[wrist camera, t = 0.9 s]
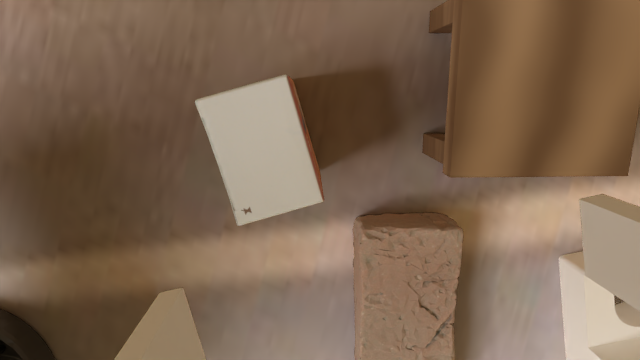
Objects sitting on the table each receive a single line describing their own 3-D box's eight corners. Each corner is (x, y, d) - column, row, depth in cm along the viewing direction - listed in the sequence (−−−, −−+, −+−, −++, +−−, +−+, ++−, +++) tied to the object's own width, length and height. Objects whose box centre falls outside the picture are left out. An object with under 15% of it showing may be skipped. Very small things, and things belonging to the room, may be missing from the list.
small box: (320, 170, 35) (327, 205, 24) (257, 188, 35) (237, 230, 25) (293, 76, 33) (288, 71, 23) (227, 95, 33) (192, 99, 23)
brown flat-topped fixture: (417, 157, 35) (450, 177, 27) (425, 5, 32) (464, -21, 24) (556, 156, 35) (627, 175, 27) (575, 6, 32) (660, -19, 25)
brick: (438, 371, 40) (456, 407, 35) (352, 375, 40) (359, 412, 35) (445, 207, 36) (465, 224, 32) (351, 210, 36) (358, 228, 31)
